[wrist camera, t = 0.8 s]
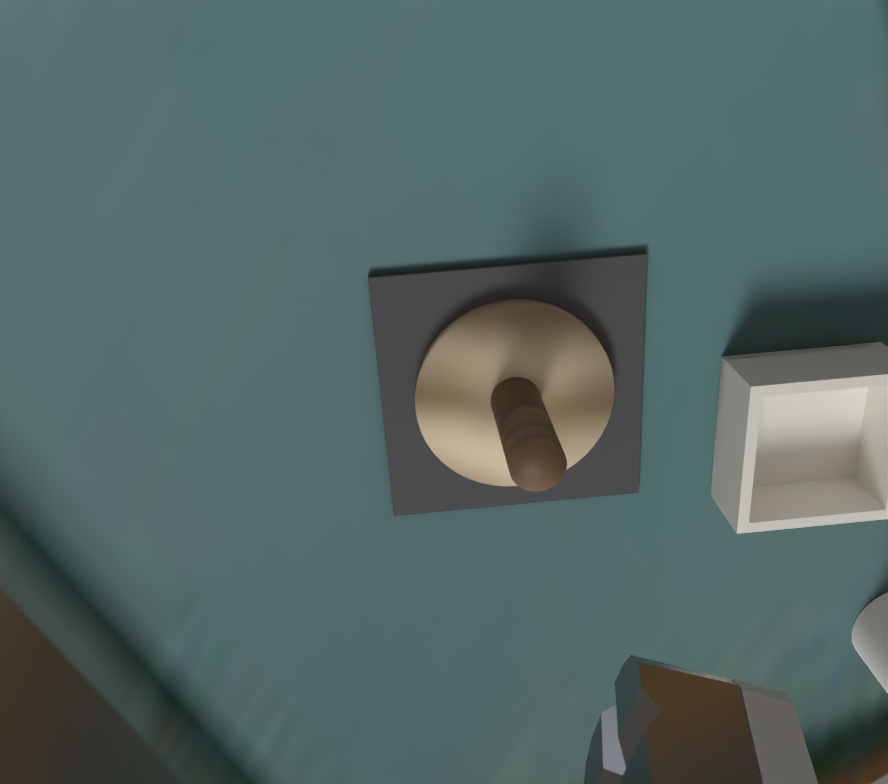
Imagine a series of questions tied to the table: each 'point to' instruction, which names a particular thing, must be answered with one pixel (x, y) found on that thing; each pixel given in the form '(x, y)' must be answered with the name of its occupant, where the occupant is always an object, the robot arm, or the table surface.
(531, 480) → the lid
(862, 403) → the white hollow square box
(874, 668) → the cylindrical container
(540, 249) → the table surface
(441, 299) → the mat
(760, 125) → the table surface
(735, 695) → the robot arm
